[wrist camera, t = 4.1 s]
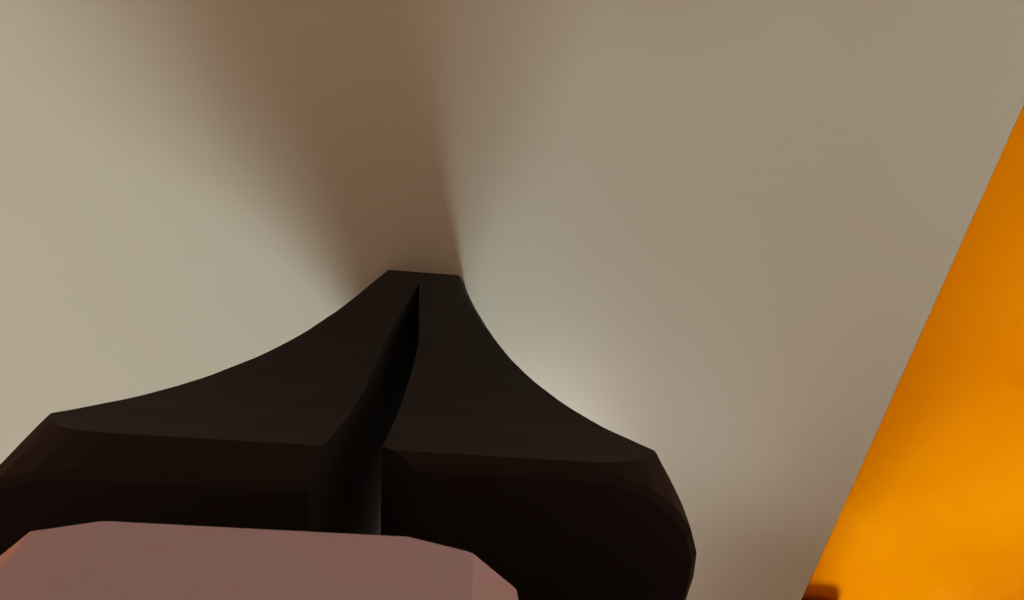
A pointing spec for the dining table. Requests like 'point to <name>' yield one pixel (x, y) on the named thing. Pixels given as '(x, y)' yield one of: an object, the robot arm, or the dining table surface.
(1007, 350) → the dining table surface
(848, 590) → the dining table surface
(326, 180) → the box lid
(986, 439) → the dining table surface
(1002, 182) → the dining table surface
